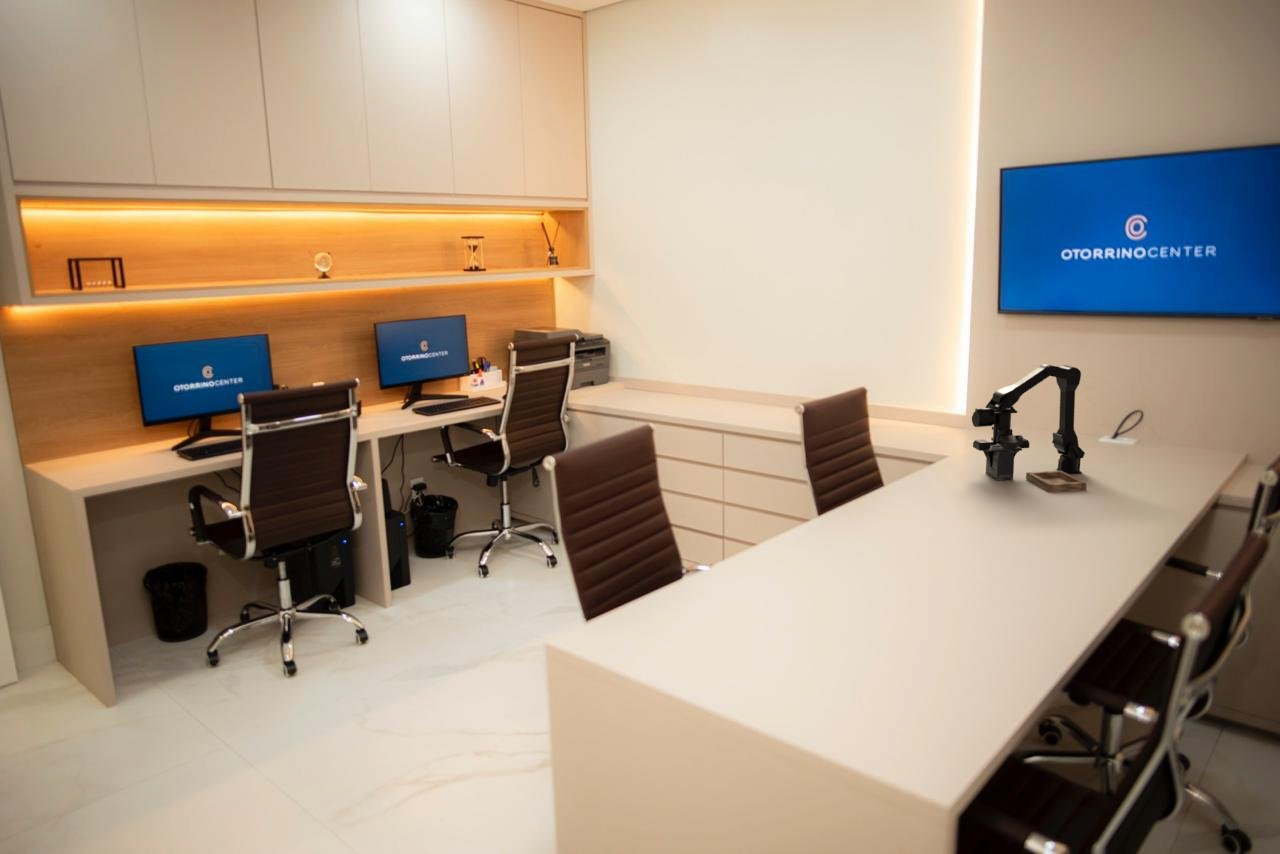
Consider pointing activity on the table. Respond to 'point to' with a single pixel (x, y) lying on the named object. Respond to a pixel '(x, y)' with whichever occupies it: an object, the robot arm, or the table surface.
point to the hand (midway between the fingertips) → (999, 466)
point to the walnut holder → (1056, 481)
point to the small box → (1001, 464)
